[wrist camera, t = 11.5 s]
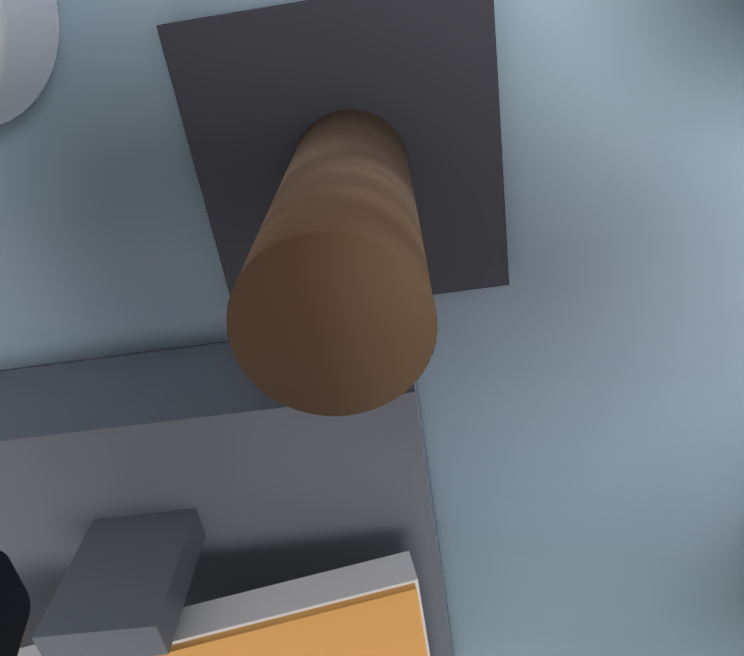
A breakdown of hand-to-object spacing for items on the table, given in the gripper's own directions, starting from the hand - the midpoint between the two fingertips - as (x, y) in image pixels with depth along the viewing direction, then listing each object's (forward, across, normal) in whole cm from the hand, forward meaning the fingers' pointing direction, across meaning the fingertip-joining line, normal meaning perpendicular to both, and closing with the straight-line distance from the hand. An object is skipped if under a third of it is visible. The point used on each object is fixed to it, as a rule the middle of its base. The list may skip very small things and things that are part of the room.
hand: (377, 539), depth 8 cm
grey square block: (+12, +8, +12) cm, 18 cm away
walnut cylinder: (+12, +1, -2) cm, 12 cm away
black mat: (+12, +1, -2) cm, 12 cm away
